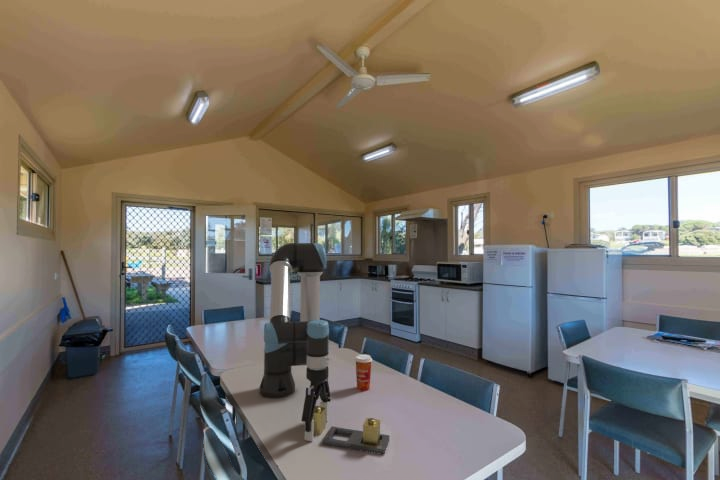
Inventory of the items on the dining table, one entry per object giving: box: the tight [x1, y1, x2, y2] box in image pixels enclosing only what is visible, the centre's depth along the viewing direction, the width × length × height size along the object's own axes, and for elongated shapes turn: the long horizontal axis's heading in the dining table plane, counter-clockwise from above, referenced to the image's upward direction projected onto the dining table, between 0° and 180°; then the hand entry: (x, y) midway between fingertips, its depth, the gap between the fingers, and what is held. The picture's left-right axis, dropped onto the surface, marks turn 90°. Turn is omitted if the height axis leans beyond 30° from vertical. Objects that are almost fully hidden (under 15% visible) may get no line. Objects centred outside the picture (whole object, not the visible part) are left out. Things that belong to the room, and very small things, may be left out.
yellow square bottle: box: [312, 405, 326, 436], centre depth 116 cm, size 4×4×8 cm
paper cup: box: [354, 354, 373, 392], centre depth 151 cm, size 8×8×14 cm
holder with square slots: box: [322, 417, 390, 455], centre depth 109 cm, size 20×8×8 cm, turn 74°
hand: (316, 430), depth 115 cm, fingers open, 12 cm apart
